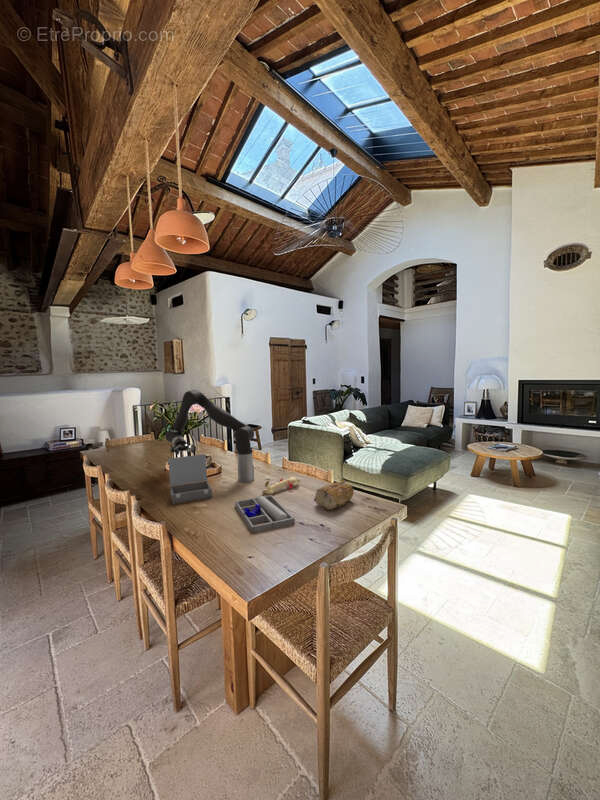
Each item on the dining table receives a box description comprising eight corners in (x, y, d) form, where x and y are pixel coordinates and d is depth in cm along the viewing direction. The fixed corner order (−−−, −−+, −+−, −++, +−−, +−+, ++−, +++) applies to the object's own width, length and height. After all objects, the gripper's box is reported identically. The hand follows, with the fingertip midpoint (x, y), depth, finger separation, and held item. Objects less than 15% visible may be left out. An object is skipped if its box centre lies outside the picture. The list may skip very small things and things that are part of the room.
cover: (207, 480, 197) (207, 480, 198) (205, 454, 199) (205, 454, 200) (170, 485, 189) (170, 485, 190) (168, 458, 191) (168, 458, 192)
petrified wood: (336, 494, 186) (340, 477, 184) (355, 505, 178) (359, 488, 176) (312, 503, 173) (315, 485, 170) (331, 516, 164) (335, 497, 162)
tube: (290, 514, 154) (266, 496, 176) (280, 513, 151) (257, 495, 173) (287, 526, 154) (264, 506, 175) (277, 525, 151) (254, 505, 172)
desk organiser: (271, 499, 181) (271, 495, 181) (294, 523, 153) (294, 518, 153) (235, 506, 173) (235, 501, 173) (252, 532, 145) (252, 527, 145)
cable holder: (248, 519, 157) (248, 511, 157) (244, 517, 160) (244, 509, 159) (262, 514, 163) (262, 506, 162) (258, 512, 165) (258, 504, 165)
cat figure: (271, 500, 184) (304, 484, 201) (270, 484, 183) (303, 470, 200) (260, 495, 191) (292, 480, 208) (258, 480, 190) (291, 467, 207)
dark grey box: (207, 489, 198) (207, 481, 197) (212, 498, 184) (211, 489, 184) (170, 495, 190) (170, 486, 189) (172, 504, 176) (172, 495, 176)
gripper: (167, 438, 210) (173, 447, 197) (191, 437, 218) (198, 445, 204) (167, 450, 212) (173, 459, 198) (190, 448, 219) (197, 457, 206)
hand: (185, 452), depth 201 cm, fingers open, 8 cm apart
